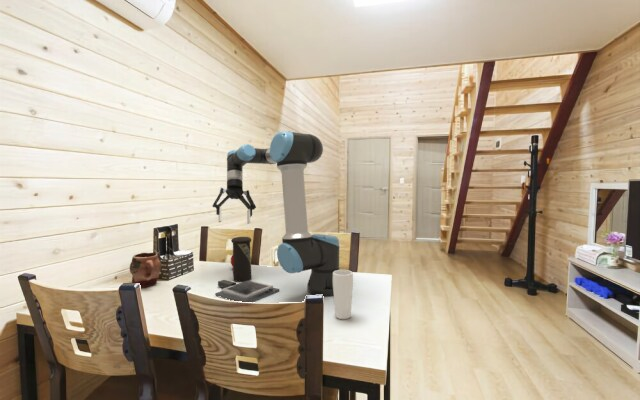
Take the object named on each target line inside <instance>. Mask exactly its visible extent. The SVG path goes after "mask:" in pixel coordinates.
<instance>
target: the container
mask: <svg viewBox="0 0 640 400" xmlns="http://www.w3.org/2000/svg"><path fill="white" fill-rule="evenodd" d="M230 241H231V244H232V255H233V266H232V271H233V273H232V277H233V279H232V280H233V282H239V283H242V282H245V281H248V280H250V281H252V261H251V257H252V256H251V242H252V238H251V237H249V236H237V237H236V236H235V237H233V238H232V239H231V240H230Z"/></svg>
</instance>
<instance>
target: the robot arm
mask: <svg viewBox="0 0 640 400" xmlns="http://www.w3.org/2000/svg"><path fill="white" fill-rule="evenodd" d="M323 152H324V146H323V143H322V141H321V140H320V138H319V137H318V136H316V135H314V134H311V133H310V134H309V133H302V132H296V131H295V132H294V131H278V132H277V133H276V134H275V135H274V136H273V137H272V140H271V142H270V144H269V148H257V147H256V148H255V147H254V146H253V145H251V144H249V143H245V144H243V145H241V146H240V147H239V148H238V149H237V150H235V149H234V150H230V151H228V152H227V155H226V156H227V157H226V189H225V188H224V187H221V188H220V189H219V194H218V196H217V197H216V199H215V201H214V202H213V203H212V208H215V209H216V210H215V211H216V213H215V215H217V216H218V223H221V222H222V206H223V205H224V204H225V203H226V201H228V199H229V200H230V199H231V200H239V201H241V203H242V204H243V205H244V206H245V207H246V208H247V211H246V213H247V216H246V217H247V218H246V219H247V220H246V223H247V224H250V223H251V217H253V210H255V209H256V208H257V206H256V204H255V202H254V200H253V199H252V196H251V195H250V190H243V189H244V188H243V185H244V184H243V177H244V176H243V167H244V166H245V165H247V164H258V165H259V164H260V165H261V164H262V165H275V164H276V168H277V169H278V170H279V171H280V172H281V182H282V183H281V184H282V198H283V209H284V225H285V226H284V228H285V233H284V235H283V236H282V238H281V240H282V243H280V244H279V245H278V247H277V249H276V256H277V261H278V263H279V265H280V267H281V268H282V269H283V270H284V272H286V273H288V274H295V273H302V272H306V271H308V270H311V271H310V276H309V278H308V282H307V289H306V290H307V293H308V294H309V293H310V294H311V295H314V294H323V295H324V296H323V297H325V296H326V297H328V296H329V297H331V296H332V297H333V296H334V294H333V272H334V271H336V270H340V241H339V238H338V237H337V236H335V235H330V234H329V235H327V234H320V233H319V234H316V233H315V234H314V233H313V234H311V233H310V232H309V230H308V215H307V214H308V213H307V204H306V203H307V202H306V198H307V197H306V190H305V189H306V188H305V174H304V170H305V169H306V168H307V167H308V164H309V163H310V164H311V163H314V162H317V161H318V160H319V159H321V157H322V155H323ZM223 194H227V195H226V196H225V197H224V198H223V199H222V200H221V201H220V199H221V197H222V195H223ZM243 195H244V196H245V197H246V198H245V197H244V196H243ZM219 201H220V202H219ZM218 202H219V203H218Z"/></svg>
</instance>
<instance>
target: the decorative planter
mask: <svg viewBox="0 0 640 400" xmlns="http://www.w3.org/2000/svg"><path fill="white" fill-rule="evenodd" d="M161 270H162V262H161V261H160V258H159V255H158V254H157V252H141V253H136V254H134V255H133V256H132V259H131V262H130V264H129V272H130V274H131V276H132V278H131V283H140V285H141V288H140V289H142V288H149V287H151V286H154V285H156V284H157V282H158V278H159V276H160V272H161Z"/></svg>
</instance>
